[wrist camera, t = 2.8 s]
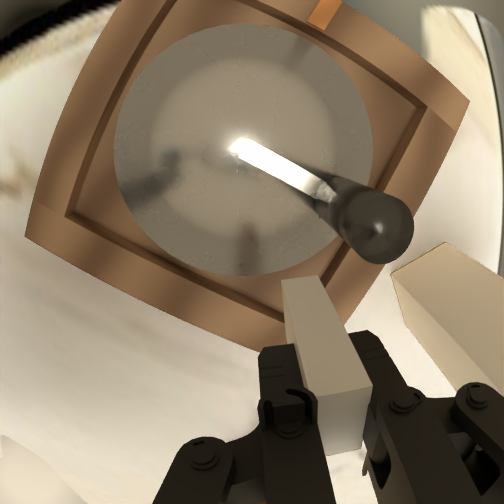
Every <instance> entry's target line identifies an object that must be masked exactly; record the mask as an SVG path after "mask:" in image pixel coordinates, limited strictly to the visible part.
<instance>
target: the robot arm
mask: <svg viewBox="0 0 504 504" xmlns="http://www.w3.org/2000/svg"><path fill="white" fill-rule="evenodd" d="M281 284H282V295H283V307H284V318H285V330H286V338H287V343H288V344H284V345H276V346H268V347H263V349H262V351H261V353H260V354H259V356H258V367H259V382H260V397H261V399H260V400H259V403H258V408H257V410H258V415H259V421H260V422H259V425H258V426H257V427H256V428H255V429H254V431H252V432H251V433H249V434H248V435H246V436H244V437H242V438H239V439H236V440H233V441H230V442H227V443H225V442H224V441H223V440H221V439H218V438H215V437H199V438H196V439H192V440H190V441H189V442H187V443H185V444H184V445H183V446H182V447H181V448H180V450H179V451H178V452H177V454H176V456H175V458H174V460H173V462H172V464H171V466H170V468H169V471H168V473H167V475H166V477H165V479H164V481H163V483H162V485H161V487H160V489H159V491H158V493H157V495H156V497H155V499H154V501H153V503H152V504H260V503H262V502H265V501H266V504H336V500H335V496H334V491H333V487H332V483H331V478H330V474H329V470H328V465H327V461H326V457H325V456H329V455H334V454H339V453H344V452H349V451H353V450H358V449H361V446H362V442H363V440H364V443H365V446H366V448H367V454H366V457H365V461H364V465H363V469H362V476H365V475H366V474H367V470H368V472H369V475H370V478H371V481H372V484H373V488H374V491H375V494H376V497H377V501H378V504H504V397H503V396H502V395H501V394H500V393H498V392H497V391H496V390H495V389H493V388H492V387H490V386H489V385H487V384H485V383H480V382H470V383H467V384H465V385H463V386H462V387H461V388H460V389H459V390H458V391H457V393H456V396H455V397H448V398H427V397H426V396H425V395H424V394H423V393H422V392H421V391H420V390H418V389H415V388H413V387H409V386H408V385H407V384H406V382H405V381H404V379H403V377H402V375H401V374H400V372H399V370H398V369H397V367H396V365H395V364H394V362H393V360H392V359H391V357H389V354H388V352H387V350H386V349H384V346H383V344H382V342H381V341H380V339H379V337H377V336H376V335H374V334H373V333H371V332H370V331H368V330H365V331H360V332H354V333H348V334H347V332H346V330H345V328H344V326H343V324H342V322H341V320H340V318H339V316H338V314H337V312H336V310H335V308H334V306H333V304H332V302H331V300H330V298H329V296H328V294H327V292H326V290H325V288H324V286H323V285H322V283H321V281H320V279H319V277H318V275H316V276H308V277H301V278H293V279H285V280H281Z"/></svg>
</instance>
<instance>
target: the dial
mask: <svg viewBox="0 0 504 504" xmlns="http://www.w3.org/2000/svg"><path fill="white" fill-rule="evenodd" d="M372 157H373V141H372V131H371V126H370V121H369V116H368V113H367V111H366V108H365V105H364V102H363V100H362V98H361V96H360V94H359V92H358V90H357V88H356V86H355V84H354V83H353V82H352V80H351V79H350V77H349V76H348V74H347V73H346V72H345V71H344V69H343V68H342V67H341V66H340V65H339V64H338V63H337V62H336V61H335V60H334V59H333V58H332V57H331V56H330V55H329V54H327V53H326V52H325V51H324V50H323V49H321V48H320V47H318V46H317V45H315V44H314V43H312V42H310V41H309V40H307V39H305V38H303V37H301V36H299V35H296V34H294V33H292V32H289V31H286V30H283V29H280V28H276V27H272V26H266V25H260V24H241V23H239V24H228V25H221V26H216V27H212V28H208V29H204V30H201V31H199V32H196V33H194V34H191V35H188V36H186V37H185V38H183V39H181V40H179V41H177V42H175V43H174V44H172V45H171V46H169V47H168V48H167V49H165V50H164V51H162V52H161V53H160V54H158V55H157V56H156V57H155V58H154V59H153V60H152V61H151V62H150V63H149V64H148V65H147V66H146V67H145V68H144V70H143V71H142V72H141V73H140V75H139V76H138V77H137V79H136V80H135V82H134V83H133V85H132V87H131V88H130V90H129V92H128V93H127V95H126V98H125V100H124V102H123V105H122V107H121V110H120V113H119V116H118V120H117V124H116V129H115V137H114V164H115V171H116V177H117V181H118V184H119V188H120V191H121V194H122V196H123V198H124V201H125V203H126V205H127V207H128V209H129V211H130V212H131V214H132V216H133V217H134V219H135V221H136V222H137V223H138V225H139V226H140V227H141V228H142V230H143V231H144V232H145V233H146V234H147V235H148V236H149V237H150V238H151V239H152V240H153V241H154V242H155V243H156V244H157V245H158V246H159V247H161V248H162V249H163V250H165V251H166V252H168V253H169V254H170V255H172V256H174V257H175V258H177V259H179V260H181V261H182V262H184V263H186V264H189V265H191V266H194V267H196V268H199V269H201V270H205V271H209V272H213V273H216V274H224V275H231V276H253V275H263V274H268V273H272V272H277V271H281V270H284V269H286V268H289V267H292V266H295V265H297V264H299V263H301V262H303V261H305V260H307V259H309V258H311V257H312V256H313V255H315V254H316V253H318V252H319V251H321V250H322V249H324V248H325V247H326V246H327V245H328V244H329V243H331V242H332V241H333V240H334V239H335V238H336V237H337V236H338V235H339V236H340V237H341V238H342V239H343V240H344V241H345V242H346V243H347V244H348V245H349V246H350V247H351V248H352V249H353V250H354V251H355V252H356V253H357V254H358V255H359V256H360V257H361V258H362V259H364V260H365V261H367V262H369V263H372V264H386V263H390V262H392V261H394V260H396V259H397V258H399V257H400V256H401V255H402V254H403V253H404V252H405V251H406V249H407V248H408V246H409V244H410V242H411V240H412V237H413V232H414V220H413V216H412V213H411V211H410V209H409V208H408V206H407V205H406V204H405V203H404V202H403V201H402V200H400V199H398V198H396V197H394V196H391V195H389V194H386V193H384V192H381V191H379V190H376V189H374V188H371V187H369V186H367V185H368V182H369V178H370V173H371V168H372Z"/></svg>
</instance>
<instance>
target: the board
mask: <svg viewBox="0 0 504 504" xmlns="http://www.w3.org/2000/svg"><path fill="white" fill-rule="evenodd" d="M239 23H241V24H260V25H266V26H272V27H276V28H280V29H283V30H286V31H289V32H292V33H294V34H296V35H299V36H301V37H303V38H305V39H307V40H309V41H310V42H312V43H314V44H315V45H317V46H318V47H320V48H321V49H323V50H324V51H325V52H326V53H327V54H329V55H330V56H331V57H332V58H333V59H334V60H335V61H336V62H337V63H338V64H339V65H340V66H341V67H342V68H343V69H344V71H345V72H346V73H347V74H348V76H349V77H350V79H351V80H352V82H353V83H354V84H355V86H356V88H357V90H358V92H359V94H360V96H361V98H362V100H363V102H364V105H365V108H366V111H367V113H368V116H369V121H370V126H371V131H372V141H373V157H372V168H371V173H370V178H369V182H368V185H367V186H369V187H371V188H374V189H376V190H379V191H381V192H384V193H386V194H389V195H391V196H394V197H396V198H398V199H400V200H402V201H403V202H404V203H405V204H406V205H407V206H408V208H409V209H410V211H411V213H412V216H413V217H414V215H415V214H416V212H417V210H418V208H419V206H420V205H421V203H422V201H423V199H424V197H425V195H426V194H427V192H428V190H429V188H430V186H431V184H432V182H433V180H434V178H435V176H436V174H437V173H438V171H439V169H440V167H441V165H442V163H443V161H444V158H445V156H446V154H447V152H448V150H449V148H450V146H451V144H452V142H453V140H454V137H455V135H456V133H457V131H458V129H459V126H460V124H461V122H462V119H463V117H464V115H465V112H466V110H467V108H468V105H469V103H470V101H469V100H468V99H467V98H466V97H465V96H464V95H463V94H462V93H461V92H460V91H459V90H458V89H457V88H456V87H455V86H454V85H453V84H452V83H451V82H450V81H449V80H448V79H446V78H445V77H444V76H443V75H442V74H441V73H440V72H439V71H438V70H436V69H435V68H434V67H433V66H432V65H431V64H429V63H428V62H427V61H426V60H425V59H423V58H422V57H421V56H420V55H419V54H417V53H416V52H415V51H414V50H412V49H411V48H410V47H408V46H407V45H406V44H404V43H403V42H402V41H401V40H399V39H397V37H395V36H394V35H392V34H391V33H390V32H388V31H387V30H385V29H384V28H382V27H381V26H379V25H378V24H377V23H375V22H374V21H372V20H371V19H369V18H368V17H366V16H364V15H363V14H361V13H360V12H358V11H356V10H355V9H353V8H352V7H350V6H348V5H346V4H345V3H343V2H342V1H340V0H122V1H121V3H120V4H119V6H118V7H117V9H116V10H115V12H114V13H113V15H112V16H111V18H110V20H109V21H108V23H107V24H106V26H105V28H104V29H103V31H102V33H101V35H100V36H99V38H98V40H97V41H96V43H95V45H94V47H93V49H92V50H91V52H90V54H89V56H88V58H87V60H86V62H85V64H84V66H83V68H82V70H81V72H80V74H79V76H78V78H77V80H76V82H75V84H74V86H73V88H72V91H71V93H70V95H69V97H68V100H67V102H66V104H65V107H64V109H63V111H62V114H61V116H60V119H59V121H58V124H57V126H56V129H55V132H54V134H53V137H52V140H51V143H50V145H49V148H48V151H47V154H46V157H45V160H44V163H43V166H42V170H41V173H40V176H39V180H38V183H37V187H36V190H35V194H34V198H33V202H32V206H31V210H30V214H29V218H28V223H27V227H26V232H25V237H26V238H28V239H30V240H31V241H33V242H34V243H36V244H38V245H39V246H41V247H43V248H44V249H46V250H48V251H50V252H51V253H53V254H55V255H56V256H58V257H60V258H62V259H63V260H65V261H67V262H69V263H71V264H72V265H74V266H76V267H78V268H79V269H81V270H83V271H85V272H87V273H89V274H90V275H92V276H94V277H96V278H98V279H100V280H102V281H104V282H106V283H107V284H109V285H111V286H113V287H115V288H117V289H119V290H121V291H123V292H125V293H127V294H129V295H131V296H133V297H135V298H137V299H139V300H141V301H143V302H145V303H147V304H149V305H151V306H153V307H156V308H158V309H160V310H162V311H164V312H166V313H168V314H170V315H173V316H175V317H177V318H179V319H181V320H183V321H186V322H188V323H190V324H192V325H195V326H197V327H199V328H201V329H204V330H206V331H208V332H211V333H213V334H215V335H218V336H220V337H222V338H225V339H227V340H230V341H232V342H235V343H237V344H239V345H242V346H244V347H247V348H249V349H252V350H254V351H257V352H260V353H261V351H262V349H263V347H268V346H276V345H284V344H288V343H287V338H286V330H285V318H284V307H283V295H282V284H281V280H285V279H293V278H301V277H308V276H316V275H318V277H319V279H320V281H321V283H322V285H323V286H324V288H325V290H326V292H327V294H328V296H329V298H330V300H331V302H332V304H333V306H334V308H335V310H336V312H337V314H338V316H339V318H340V320H341V322H342V324H343V326H344V324H345V323H346V322H347V320H348V319H349V317H350V316H351V315H352V313H353V312H354V310H355V309H356V307H357V306H358V305H359V303H360V302H361V300H362V299H363V297H364V296H365V294H366V293H367V291H368V290H369V288H370V287H371V285H372V284H373V282H374V281H375V279H376V278H377V276H378V275H379V273H380V272H381V270H382V269H383V267H384V265H385V264H372V263H369V262H367V261H365V260H364V259H362V258H361V257H360V256H359V255H358V254H357V253H356V252H355V251H354V250H353V249H352V248H351V247H350V246H349V245H348V244H347V243H346V242H345V241H344V240H343V239H342V238H341V237H340V236H339V235H338V236H337V237H336V238H335V239H334V240H333V241H332V242H331V243H329V244H328V245H327V246H326V247H325V248H324V249H322V250H321V251H319V252H318V253H316V254H315V255H313V256H312V257H311V258H309V259H307V260H305V261H303V262H301V263H299V264H297V265H295V266H292V267H289V268H286V269H284V270H281V271H277V272H272V273H268V274H263V275H253V276H231V275H224V274H216V273H213V272H209V271H205V270H201V269H199V268H196V267H194V266H191V265H189V264H186V263H184V262H182V261H181V260H179V259H177V258H175V257H174V256H172V255H170V254H169V253H168V252H166V251H165V250H163V249H162V248H161V247H159V246H158V245H157V244H156V243H155V242H154V241H153V240H152V239H151V238H150V237H149V236H148V235H147V234H146V233H145V232H144V231H143V230H142V228H141V227H140V226H139V225H138V223H137V222H136V221H135V219H134V217H133V216H132V214H131V212H130V211H129V209H128V207H127V205H126V203H125V201H124V198H123V196H122V194H121V191H120V188H119V184H118V181H117V177H116V171H115V164H114V137H115V129H116V124H117V120H118V116H119V113H120V110H121V107H122V105H123V102H124V100H125V98H126V95H127V93H128V92H129V90H130V88H131V87H132V85H133V83H134V82H135V80H136V79H137V77H138V76H139V75H140V73H141V72H142V71H143V70H144V68H145V67H146V66H147V65H148V64H149V63H150V62H151V61H152V60H153V59H154V58H155V57H156V56H157V55H158V54H160V53H161V52H162V51H164V50H165V49H167V48H168V47H169V46H171V45H172V44H174V43H175V42H177V41H179V40H181V39H183V38H185V37H186V36H188V35H191V34H194V33H196V32H199V31H201V30H204V29H208V28H212V27H216V26H221V25H228V24H239Z"/></svg>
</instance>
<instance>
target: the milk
mask: <svg viewBox="0 0 504 504" xmlns="http://www.w3.org/2000/svg"><path fill="white" fill-rule="evenodd" d="M391 277H392V280H393V284H394V287H395V290H396V293H397V297H398V300H399V303H400V307H401V310H402V314H403V317H404V321H405V325H406V327H407V328H408V329H409V330H410V332H411V333H412V334H413V335H414V337H415V338H416V339H417V340H418V342H419V343H420V344H421V345H422V347H423V348H424V349H425V351H426V352H427V353H428V354H429V356H430V357H431V358H432V360H433V361H434V362H435V364H436V365H437V366H438V368H439V369H440V370H441V372H442V373H443V374H444V376H445V377H446V378H447V380H448V381H449V382H450V384H451V385H452V386H453V388H454V389H455V391H456V392H457V391H458V390H459V389H460V388H461V387H462V386H463V385H465V384H467V383H470V382H480V383H485V384H487V385H489V386H490V387H492V388H493V389H495V390H496V391H497V392H498V393H500V394H501V395H502V396H503V397H504V278H502V277H501V276H499V275H497V274H496V273H494V272H493V271H491V270H490V269H488V268H487V267H485V266H484V265H482V264H480V263H479V262H477V261H476V260H474V259H472V258H471V257H469V256H468V255H466V254H464V253H463V252H461V251H459V250H458V249H456V248H454V247H453V246H451V245H449V244H448V243H443V244H442V245H440V246H438V247H437V248H435V249H433V250H432V251H430V252H428V253H426V254H425V255H423V256H421V257H420V258H418V259H416V260H414V261H413V262H411V263H409V264H407V265H406V266H404V267H402V268H400V269H399V270H397V271H395V272H393V273H392V274H391Z"/></svg>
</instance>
